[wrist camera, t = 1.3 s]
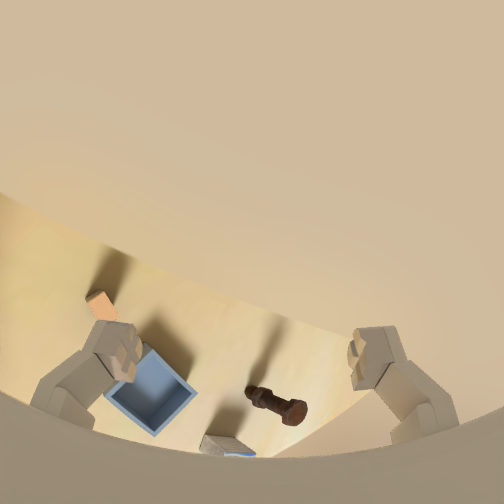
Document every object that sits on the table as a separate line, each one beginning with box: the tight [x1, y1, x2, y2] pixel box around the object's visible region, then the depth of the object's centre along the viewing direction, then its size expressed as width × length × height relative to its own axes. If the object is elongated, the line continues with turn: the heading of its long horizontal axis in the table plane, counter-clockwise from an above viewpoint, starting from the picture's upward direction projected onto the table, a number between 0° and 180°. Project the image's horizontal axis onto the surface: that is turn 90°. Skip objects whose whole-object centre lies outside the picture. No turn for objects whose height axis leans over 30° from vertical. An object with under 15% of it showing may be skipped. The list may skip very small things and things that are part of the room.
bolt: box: [245, 386, 308, 426], centre depth 51 cm, size 6×5×15 cm
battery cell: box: [85, 289, 120, 321], centre depth 38 cm, size 3×4×9 cm
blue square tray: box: [103, 342, 198, 437], centre depth 42 cm, size 12×12×6 cm
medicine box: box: [199, 435, 256, 458], centre depth 47 cm, size 8×4×9 cm, turn 68°
